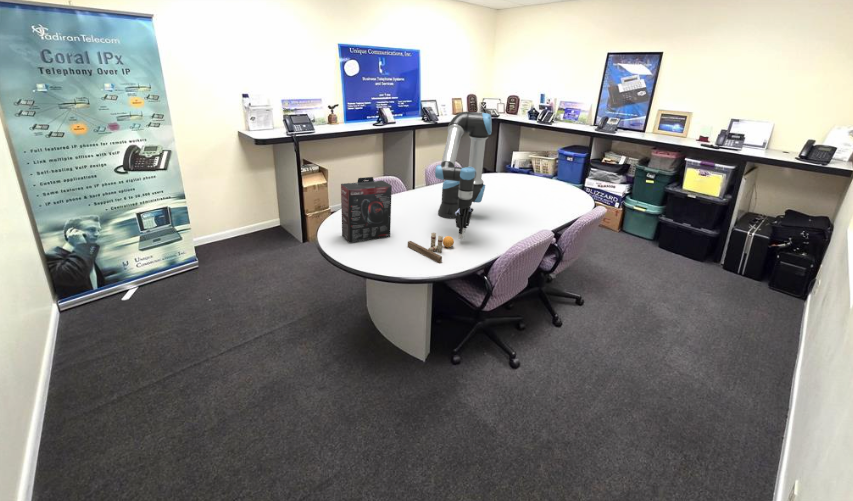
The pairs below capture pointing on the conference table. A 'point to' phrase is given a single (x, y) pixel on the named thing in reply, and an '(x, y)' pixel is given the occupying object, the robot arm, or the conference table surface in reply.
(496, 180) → the conference table surface
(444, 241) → the ball
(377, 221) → the headset box
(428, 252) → the back wall
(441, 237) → the pin
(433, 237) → the pin
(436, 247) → the front pin
